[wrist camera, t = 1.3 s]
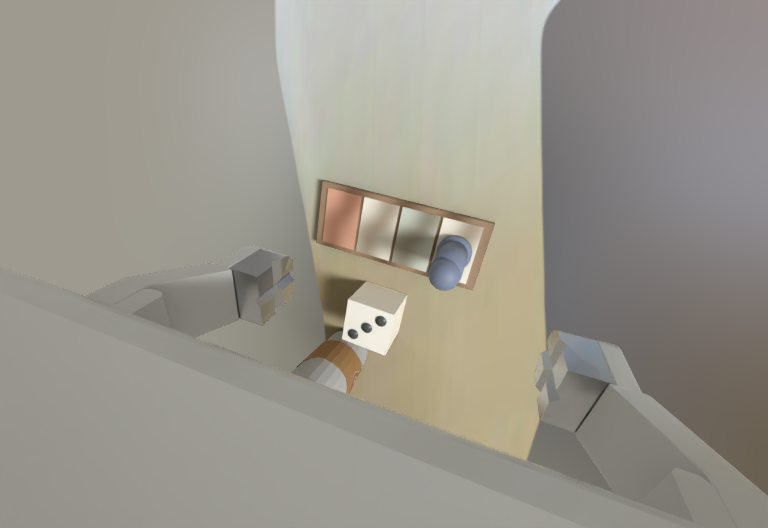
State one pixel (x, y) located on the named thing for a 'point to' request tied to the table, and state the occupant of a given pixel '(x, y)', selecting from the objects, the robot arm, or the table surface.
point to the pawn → (450, 262)
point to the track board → (396, 230)
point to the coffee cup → (334, 363)
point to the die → (373, 317)
